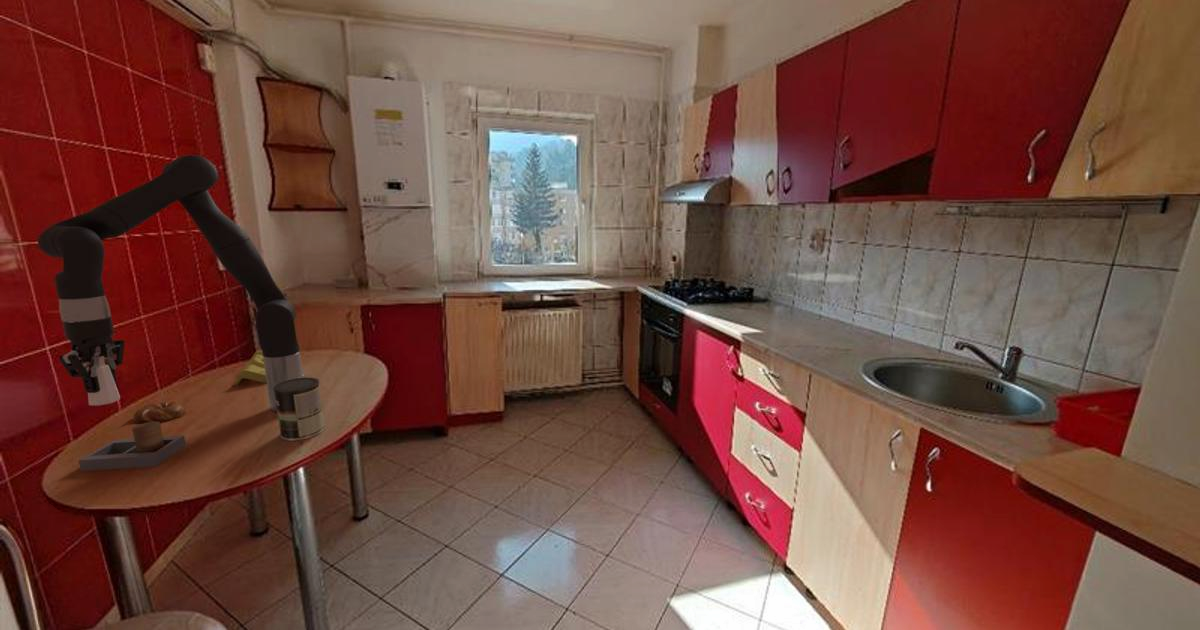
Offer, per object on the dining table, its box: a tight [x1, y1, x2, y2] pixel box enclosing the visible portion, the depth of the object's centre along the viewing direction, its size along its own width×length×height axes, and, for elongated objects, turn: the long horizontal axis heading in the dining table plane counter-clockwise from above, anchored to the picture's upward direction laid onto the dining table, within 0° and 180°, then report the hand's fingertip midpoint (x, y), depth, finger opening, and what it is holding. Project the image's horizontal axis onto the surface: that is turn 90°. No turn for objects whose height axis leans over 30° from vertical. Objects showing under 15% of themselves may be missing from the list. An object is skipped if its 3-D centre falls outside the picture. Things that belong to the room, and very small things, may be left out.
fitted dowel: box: [131, 422, 165, 453], centre depth 111 cm, size 5×5×8 cm
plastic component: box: [232, 349, 267, 386], centre depth 169 cm, size 20×7×10 cm
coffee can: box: [273, 377, 325, 442], centre depth 126 cm, size 10×10×14 cm
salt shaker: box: [86, 356, 121, 407], centre depth 107 cm, size 5×5×11 cm
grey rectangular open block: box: [78, 435, 187, 472], centre depth 112 cm, size 15×10×4 cm, turn 99°
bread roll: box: [132, 401, 187, 425], centre depth 135 cm, size 12×11×4 cm
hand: (102, 388), depth 108 cm, fingers closed on salt shaker, 3 cm apart
